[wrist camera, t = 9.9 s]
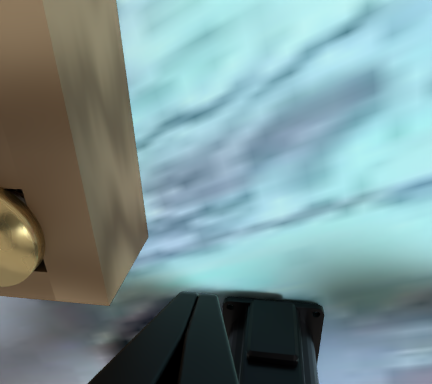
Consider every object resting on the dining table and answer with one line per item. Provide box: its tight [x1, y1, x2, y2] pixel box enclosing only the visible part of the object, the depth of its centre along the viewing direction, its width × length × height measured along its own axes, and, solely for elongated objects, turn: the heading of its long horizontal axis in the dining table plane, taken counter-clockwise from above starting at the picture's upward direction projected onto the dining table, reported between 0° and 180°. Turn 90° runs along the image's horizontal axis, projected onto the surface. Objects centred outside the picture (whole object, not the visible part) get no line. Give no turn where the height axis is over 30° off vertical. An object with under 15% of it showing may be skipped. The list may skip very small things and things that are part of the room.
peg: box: [0, 186, 46, 287], centre depth 18 cm, size 5×5×6 cm
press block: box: [0, 0, 148, 306], centre depth 16 cm, size 19×10×6 cm, turn 2°
